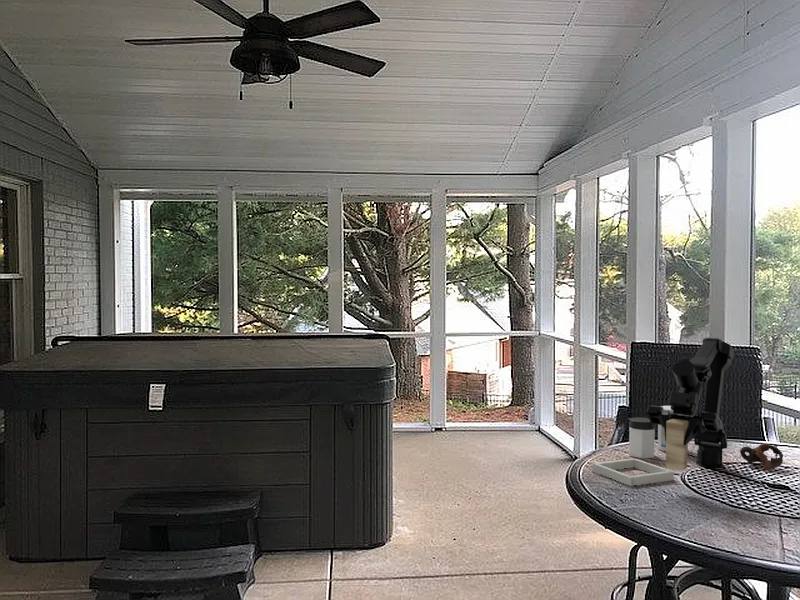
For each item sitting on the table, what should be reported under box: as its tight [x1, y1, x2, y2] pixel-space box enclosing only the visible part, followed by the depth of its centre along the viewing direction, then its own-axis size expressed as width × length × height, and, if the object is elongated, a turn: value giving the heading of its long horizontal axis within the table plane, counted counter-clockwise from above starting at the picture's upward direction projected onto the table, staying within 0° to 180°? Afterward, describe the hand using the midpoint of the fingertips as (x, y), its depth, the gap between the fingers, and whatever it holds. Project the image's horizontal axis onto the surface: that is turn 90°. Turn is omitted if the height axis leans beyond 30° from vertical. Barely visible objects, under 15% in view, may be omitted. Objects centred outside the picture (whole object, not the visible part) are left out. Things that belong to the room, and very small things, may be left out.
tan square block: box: [665, 419, 689, 472], centre depth 192 cm, size 4×4×13 cm
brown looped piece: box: [739, 443, 784, 471], centre depth 218 cm, size 12×10×8 cm
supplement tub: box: [657, 405, 673, 452], centre depth 238 cm, size 10×10×15 cm
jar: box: [628, 417, 656, 459], centre depth 231 cm, size 9×8×12 cm
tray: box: [592, 457, 675, 487], centre depth 207 cm, size 16×16×2 cm
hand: (675, 443), depth 191 cm, fingers closed on tan square block, 4 cm apart
